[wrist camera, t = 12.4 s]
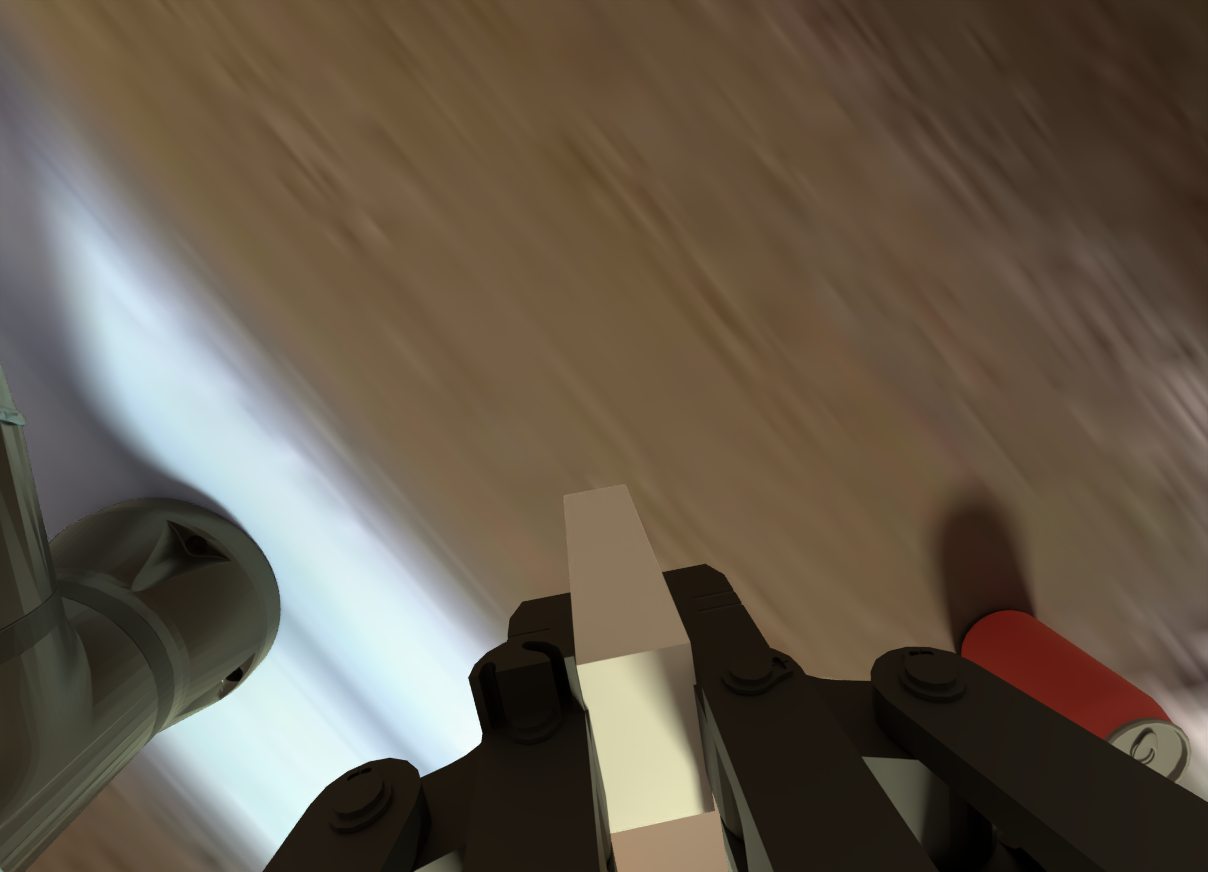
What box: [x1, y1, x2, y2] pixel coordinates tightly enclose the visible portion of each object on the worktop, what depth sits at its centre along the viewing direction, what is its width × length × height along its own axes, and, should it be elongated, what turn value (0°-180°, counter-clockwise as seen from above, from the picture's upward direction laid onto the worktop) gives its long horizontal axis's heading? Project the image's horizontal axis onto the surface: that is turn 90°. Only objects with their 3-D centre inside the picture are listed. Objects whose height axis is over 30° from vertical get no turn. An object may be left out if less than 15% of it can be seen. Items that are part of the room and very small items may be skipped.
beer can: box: [961, 610, 1191, 784], centre depth 39 cm, size 7×7×12 cm
